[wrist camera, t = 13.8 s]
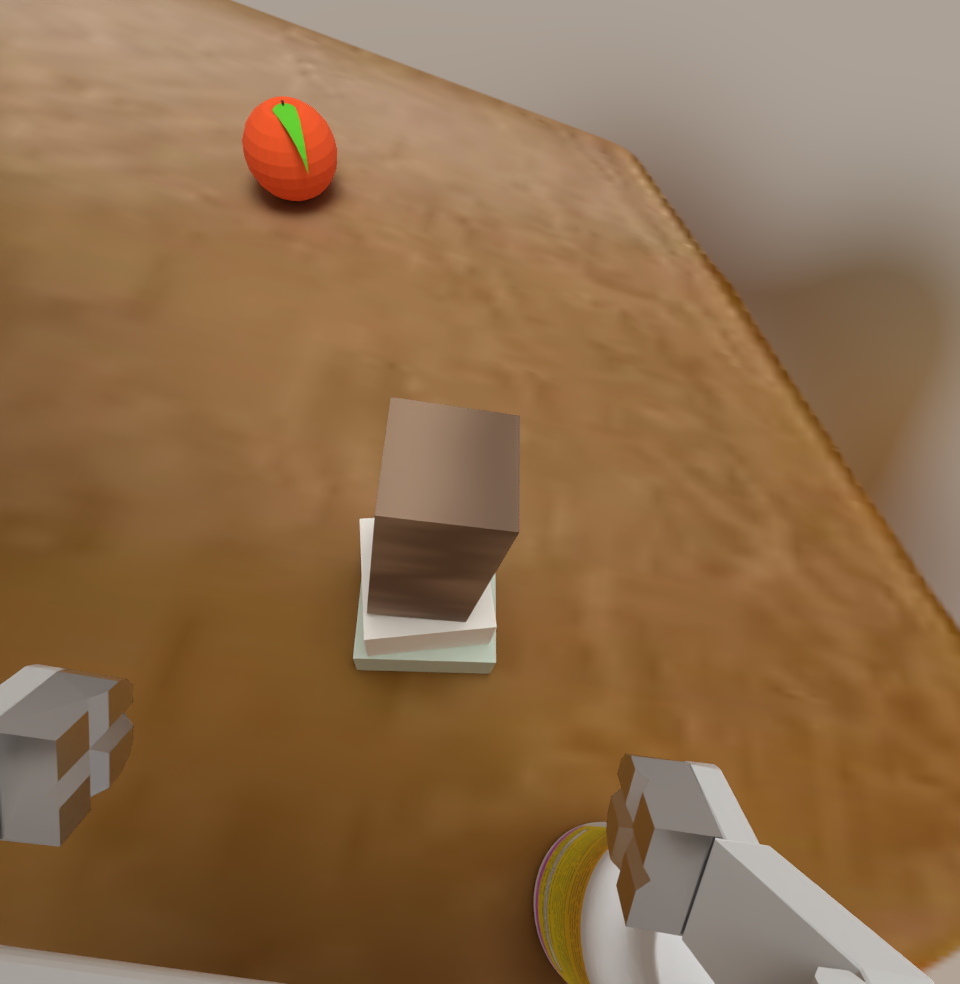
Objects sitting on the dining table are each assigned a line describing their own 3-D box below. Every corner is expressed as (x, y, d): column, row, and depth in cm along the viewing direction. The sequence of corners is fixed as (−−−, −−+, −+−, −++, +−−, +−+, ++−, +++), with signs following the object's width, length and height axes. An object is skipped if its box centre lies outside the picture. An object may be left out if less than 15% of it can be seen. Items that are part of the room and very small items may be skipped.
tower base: (357, 671, 32) (352, 658, 29) (370, 549, 35) (367, 527, 32) (488, 675, 32) (496, 662, 30) (488, 555, 36) (495, 534, 33)
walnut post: (366, 613, 27) (374, 515, 18) (378, 522, 29) (390, 397, 20) (465, 622, 27) (519, 532, 19) (470, 533, 30) (519, 415, 21)
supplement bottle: (533, 999, 25) (630, 1140, 14) (527, 821, 29) (604, 822, 17) (684, 996, 26) (892, 1129, 15) (663, 822, 29) (821, 823, 18)
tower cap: (368, 656, 29) (363, 639, 26) (363, 543, 32) (359, 518, 29) (489, 643, 30) (496, 626, 27) (474, 535, 33) (480, 510, 30)
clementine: (359, 218, 48) (351, 128, 42) (273, 237, 46) (252, 146, 40) (324, 159, 51) (312, 68, 45) (243, 175, 49) (219, 82, 43)
